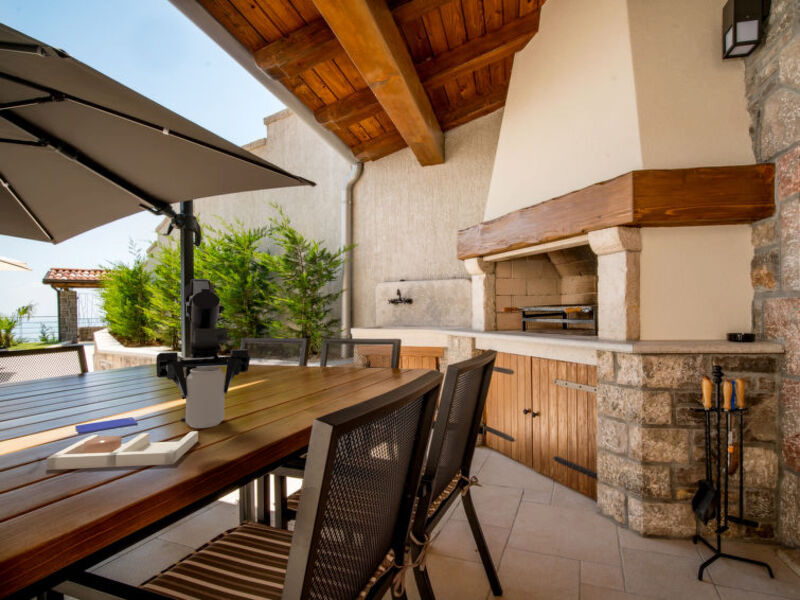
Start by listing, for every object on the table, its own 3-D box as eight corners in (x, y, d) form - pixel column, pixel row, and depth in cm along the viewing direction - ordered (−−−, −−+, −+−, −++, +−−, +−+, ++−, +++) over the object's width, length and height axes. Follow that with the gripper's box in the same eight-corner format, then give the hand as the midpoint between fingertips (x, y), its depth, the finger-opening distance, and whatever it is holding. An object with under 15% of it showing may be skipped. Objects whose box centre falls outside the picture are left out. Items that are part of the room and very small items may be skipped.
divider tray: (91, 447, 91) (91, 435, 91) (197, 442, 94) (197, 431, 94) (46, 472, 77) (47, 457, 77) (173, 466, 80) (173, 452, 80)
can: (230, 419, 90) (231, 366, 90) (211, 430, 82) (212, 371, 83) (199, 418, 91) (200, 365, 91) (177, 428, 83) (178, 370, 83)
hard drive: (131, 416, 113) (75, 425, 104) (137, 422, 107) (78, 432, 98) (131, 422, 113) (75, 431, 104) (137, 428, 107) (78, 438, 98)
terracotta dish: (102, 448, 88) (102, 435, 88) (128, 450, 87) (128, 436, 87) (75, 459, 82) (75, 444, 82) (103, 461, 81) (103, 446, 81)
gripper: (157, 315, 86) (153, 375, 76) (249, 315, 95) (256, 368, 85) (158, 348, 93) (155, 407, 83) (244, 345, 102) (250, 398, 92)
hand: (206, 394), depth 85 cm, fingers closed on can, 7 cm apart
